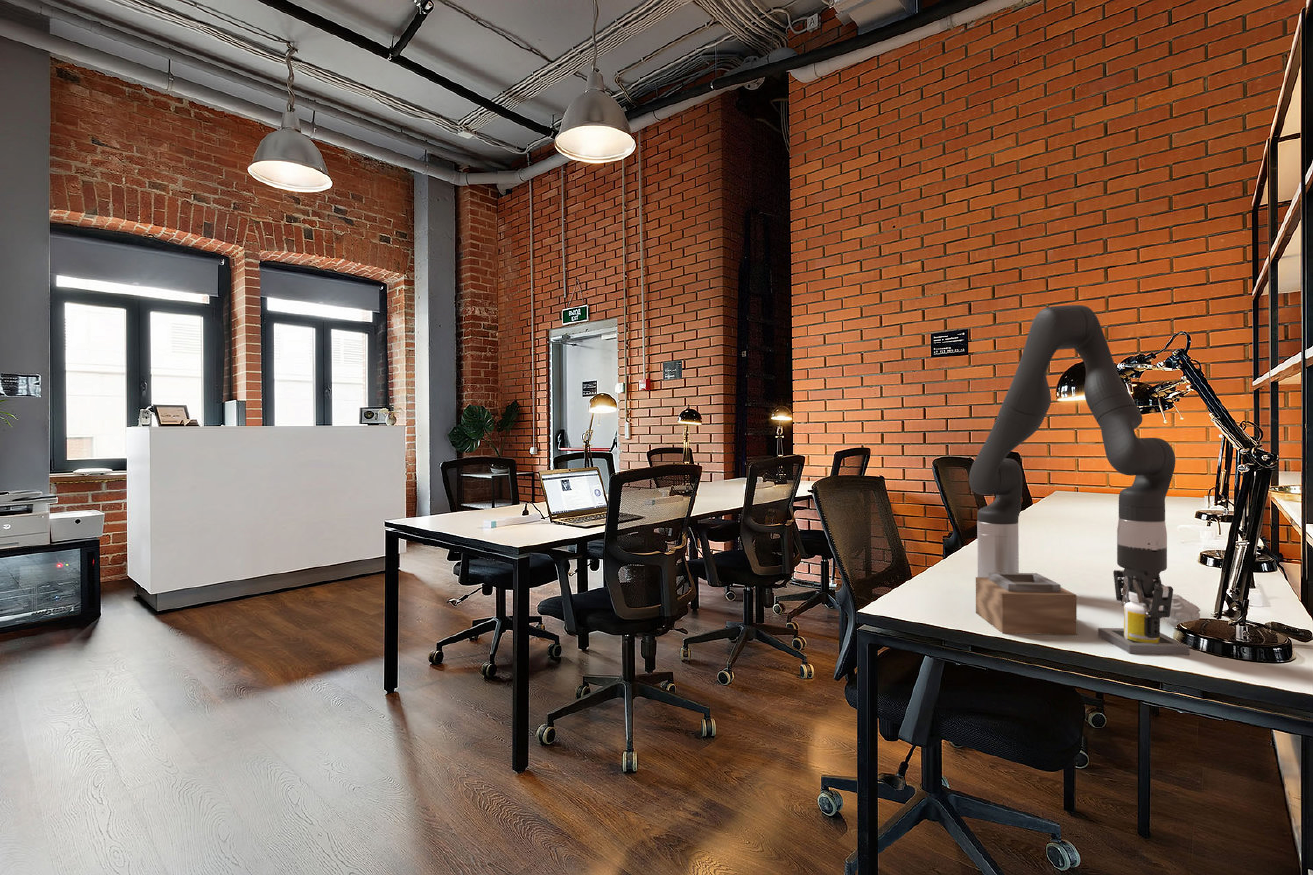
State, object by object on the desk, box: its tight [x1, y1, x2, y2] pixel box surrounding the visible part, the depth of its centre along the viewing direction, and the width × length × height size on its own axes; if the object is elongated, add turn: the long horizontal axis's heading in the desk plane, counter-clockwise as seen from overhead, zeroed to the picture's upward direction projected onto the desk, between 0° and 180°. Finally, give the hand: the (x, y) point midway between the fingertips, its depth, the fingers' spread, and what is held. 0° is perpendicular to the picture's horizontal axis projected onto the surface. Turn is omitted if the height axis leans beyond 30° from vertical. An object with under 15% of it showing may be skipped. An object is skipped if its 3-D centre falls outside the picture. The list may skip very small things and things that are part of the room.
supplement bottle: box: [1123, 591, 1160, 643], centre depth 120 cm, size 5×5×10 cm
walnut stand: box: [975, 572, 1078, 636], centre depth 134 cm, size 14×14×10 cm
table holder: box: [1097, 627, 1190, 656], centre depth 120 cm, size 10×10×2 cm
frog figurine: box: [1161, 593, 1201, 629], centre depth 129 cm, size 6×7×7 cm
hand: (1141, 631), depth 120 cm, fingers closed on supplement bottle, 5 cm apart
